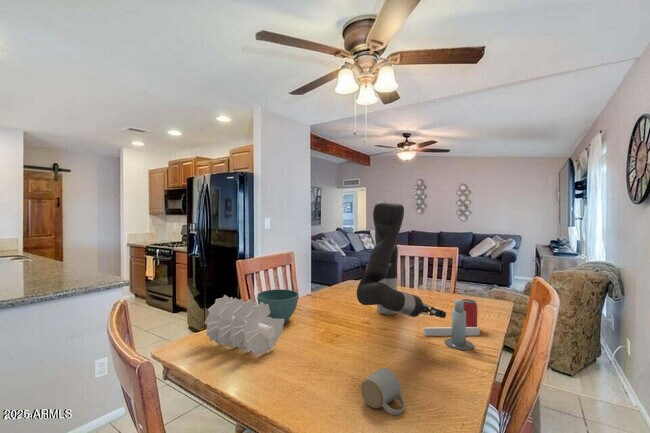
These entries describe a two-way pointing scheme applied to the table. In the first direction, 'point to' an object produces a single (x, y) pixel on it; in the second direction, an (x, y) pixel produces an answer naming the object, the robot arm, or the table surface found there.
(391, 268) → the robot arm
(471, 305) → the beer can
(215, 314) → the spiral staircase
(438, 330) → the wall
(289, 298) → the dark green bowl
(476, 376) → the table surface
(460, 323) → the grey bottle
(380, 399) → the ceramic mug
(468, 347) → the coaster
